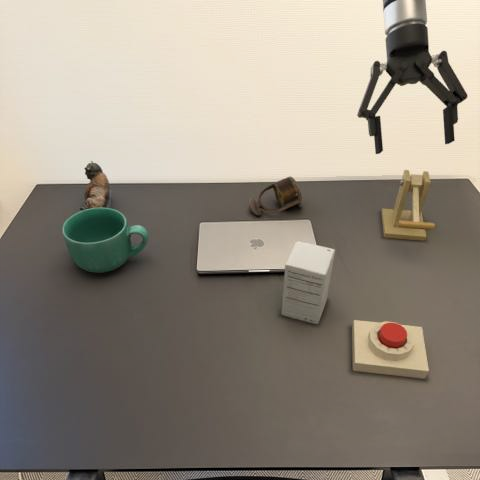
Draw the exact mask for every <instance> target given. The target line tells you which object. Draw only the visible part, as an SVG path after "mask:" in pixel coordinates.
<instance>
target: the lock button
mask: <svg viewBox="0 0 480 480" xmlns="http://www.w3.org/2000/svg"><path fill="white" fill-rule="evenodd" d="M397 323H398V322H396V323H386V324H384V325H383V326H382V327H381V329H380V332H379V336H378V338H379V341H380V342H381V343H382V344H383V345H384V346H386V347H388V348H400V347H402V346H403V345H404V343H405V340H406V338H407V331H406V330H405V328H404V327H403V326H401V325H402V324H400V323H398V324H397ZM399 324H400V325H399Z"/></svg>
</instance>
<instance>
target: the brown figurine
mask: <svg viewBox="0 0 480 480" xmlns="http://www.w3.org/2000/svg"><path fill="white" fill-rule="evenodd" d="M84 170H85V172H84V175H85V176H86V179H87V180H90V181H89V183H88V184H87V186H86V188H85V191H84V193H83V194H84V196H83V198H84V199H83V201H84V204H81V205H80V206H79V208H78V212H80V211H83V210H86V209H91V208H110V209H111V205H112V198H113V197H112V196H113V192H112V190H111V187H110V182H109V179H108V176H107V175H106V173H104V171H103V168H102V167H101V166H100V165H99V164H98V163H96V162H94V161H92V160H90V162H89V163H87V165H86V167H84Z"/></svg>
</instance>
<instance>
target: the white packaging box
mask: <svg viewBox="0 0 480 480" xmlns="http://www.w3.org/2000/svg"><path fill="white" fill-rule="evenodd" d="M335 254H336V249H334V248H330V247H327V246H323V245H317V244H313V243H308V242H303V241H299V240H298V241H295V243H294V245H293V247H292V249H291V251H290V254H289V256H288V258H287V260H286V262H285V264H284V276H283V277H284V278H283V287H282V301H281V316H284V317H287V318H291V319H296V320H298V321H303V322H307V323H309V324H314V325H319V323H320V320H321V318H322V315H323V313H324V310H325V306H326V304H327V300H328V295H329V290H330V289H329V288H330V283H331V278H332V272H333V266H334V261H335Z"/></svg>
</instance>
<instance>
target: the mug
mask: <svg viewBox="0 0 480 480" xmlns="http://www.w3.org/2000/svg"><path fill="white" fill-rule="evenodd" d="M61 231H62V235H63V239H64V242H65V244H66V248H67V250H68V253H69V255H70V258H71V259H72V261H73V263H75V265H76V266H77V267H79V268H80V269H82V270H84V271H86V272H89V273H98V274H99V273H108V272H111V271H114V270H116V269H119V268H121V266H122V265H124V264H125V263H126V262H127V260H128V259H129V258H130V257H133V256H135V255H138V254H139V253H140V252H142V251H143V250H144V249H145V248H146V246H147V243H148V241H149V232H148V231H147V229H146V228H145V227H144V226H142V225H139V224H135V225H131V226H128V222H127V218H126V216H125V215H124V214H123V213H122V212H120V211H119V210H116V209H114V208H111V207H110V208H91V209H86V210H83V211H80V212H79V211H78V212H76V213H74V214H73V215H71V216H70V217H68V218H67V219H66V220H65V222H64V223H63V225H62V230H61ZM134 234H135V235H139V236H140V237H141V238H142V241H141V242H140V243H138V244H136V245H134V246H132V239H131V237H132V235H134Z"/></svg>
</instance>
